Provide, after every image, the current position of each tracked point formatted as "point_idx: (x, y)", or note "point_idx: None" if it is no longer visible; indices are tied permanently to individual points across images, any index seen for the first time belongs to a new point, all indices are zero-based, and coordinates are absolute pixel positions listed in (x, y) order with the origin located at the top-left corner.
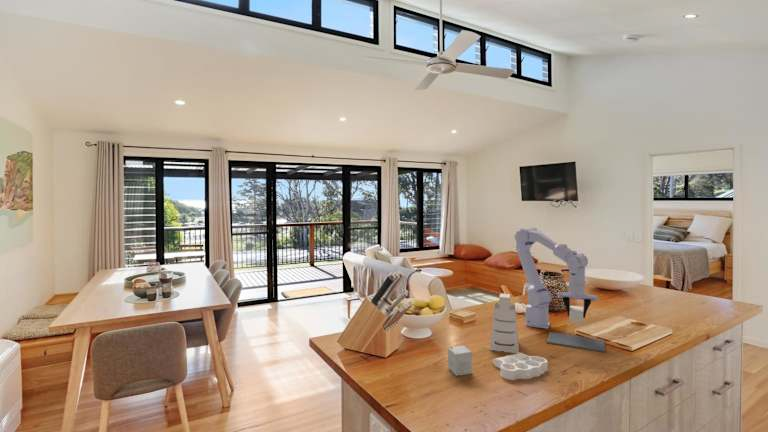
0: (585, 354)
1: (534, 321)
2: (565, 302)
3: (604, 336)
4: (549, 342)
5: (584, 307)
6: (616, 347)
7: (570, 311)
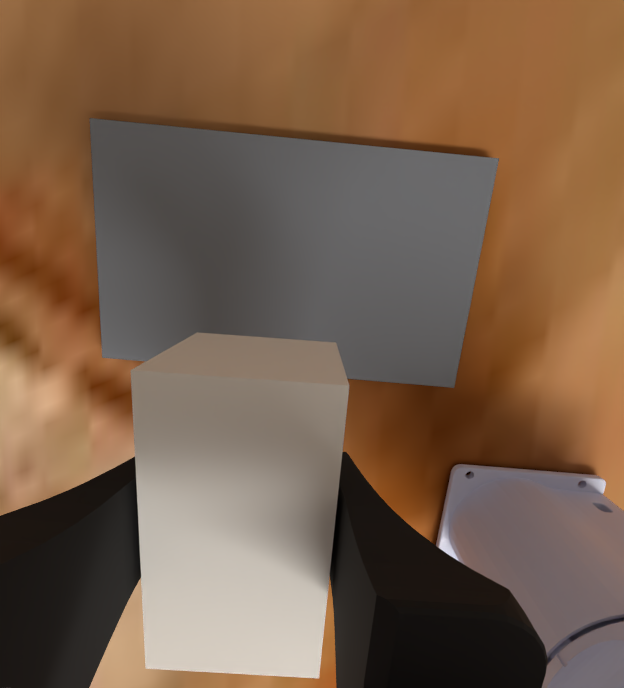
0: (227, 12)
1: (566, 505)
2: (450, 574)
3: (109, 451)
4: (475, 158)
5: (77, 514)
6: (31, 265)
7: (331, 383)
